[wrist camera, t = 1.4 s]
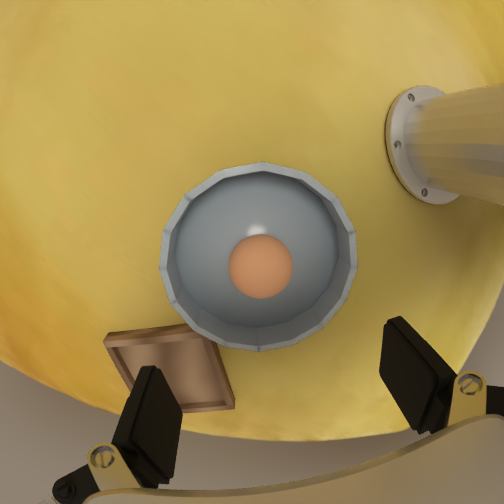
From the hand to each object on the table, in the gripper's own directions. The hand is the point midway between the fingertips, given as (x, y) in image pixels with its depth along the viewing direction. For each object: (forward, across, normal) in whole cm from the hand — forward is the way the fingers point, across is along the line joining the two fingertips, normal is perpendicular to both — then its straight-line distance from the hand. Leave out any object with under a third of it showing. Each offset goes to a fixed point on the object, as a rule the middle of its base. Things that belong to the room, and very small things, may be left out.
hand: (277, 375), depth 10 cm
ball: (+14, 0, 0) cm, 15 cm away
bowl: (+16, 0, 0) cm, 16 cm away
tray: (+16, +12, +12) cm, 23 cm away
